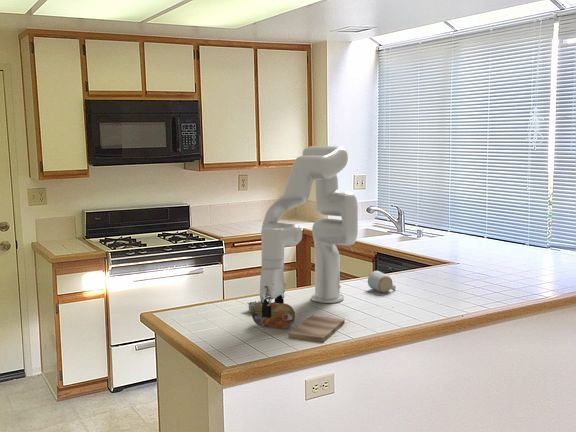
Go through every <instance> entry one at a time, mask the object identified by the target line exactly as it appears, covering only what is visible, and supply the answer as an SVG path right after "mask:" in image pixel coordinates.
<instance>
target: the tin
mask: <svg viewBox="0 0 576 432" xmlns="http://www.w3.org/2000/svg"><path fill="white" fill-rule="evenodd" d="M270 306H271V318H266V317H262V305H261V303H259V304H257V305H256V306H255V307H254V308H253V311H252V312H251V316H252V320H253V322H254V323H255V324H256V325H257V326H259V327H260V328H267V329H268V328H269V329H280V330H286V329H289V328H290V327H291V326H292V325H293V324H295V323H294V322H295V321H296V312H295V310H294V308H293V306H291V305H290V304H288V303H273V302H271V304H270Z"/></svg>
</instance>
